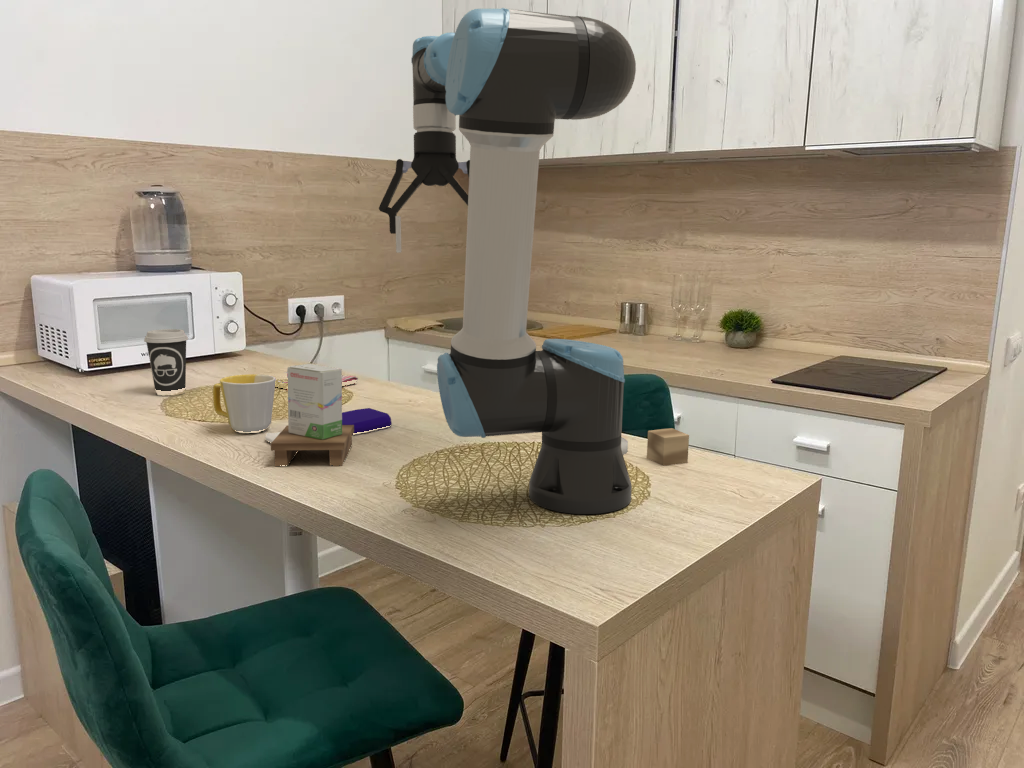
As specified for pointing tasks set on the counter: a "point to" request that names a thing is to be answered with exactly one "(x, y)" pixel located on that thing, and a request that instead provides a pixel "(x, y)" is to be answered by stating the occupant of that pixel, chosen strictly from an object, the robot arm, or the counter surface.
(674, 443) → the oak block
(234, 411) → the mug
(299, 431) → the ink box
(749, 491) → the counter surface
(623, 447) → the pale grey dome
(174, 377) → the coffee cup
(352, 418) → the purple bottle shape
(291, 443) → the stand
